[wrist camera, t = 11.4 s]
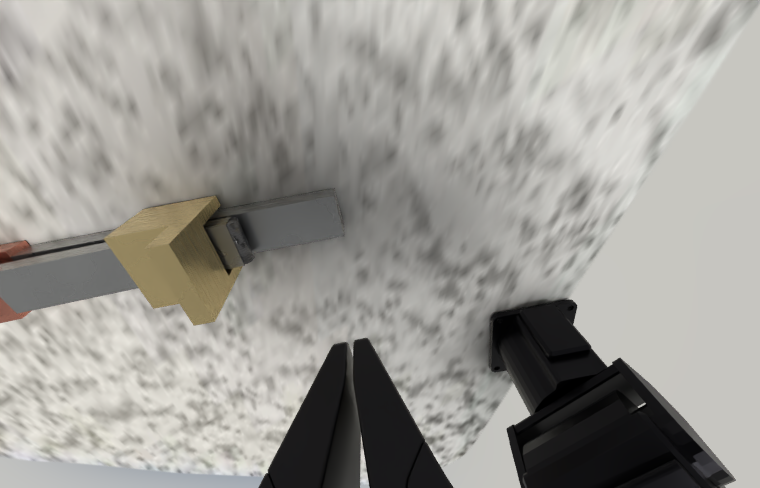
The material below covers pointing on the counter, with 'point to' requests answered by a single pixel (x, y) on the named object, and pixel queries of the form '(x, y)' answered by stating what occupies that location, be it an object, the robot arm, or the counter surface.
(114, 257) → the upper tong arm
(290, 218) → the tong base
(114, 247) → the collar
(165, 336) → the counter surface
